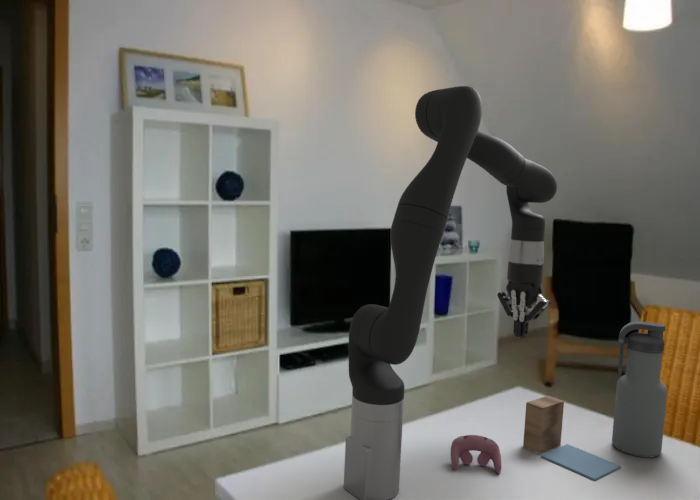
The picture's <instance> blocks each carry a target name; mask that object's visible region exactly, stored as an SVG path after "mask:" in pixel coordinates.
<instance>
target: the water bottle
mask: <svg viewBox="0 0 700 500" xmlns="http://www.w3.org/2000/svg"><path fill="white" fill-rule="evenodd" d="M634 330H636V331H637V330H644V331H645V330H646V331H647V333H646V332H632V333H630V332H631V331H634ZM664 332H666V324H662V323H659V322H658V323H657V322H649V321H648V322H647V321H639V320H638V321H631V322H629V323H627V324H625V325H624V326H623V327H622V328H621V330H620V331H619V335H618V340H617V341H618V343H619V344H620V347H619V348H620V349H619V357H618V367H617V376H620V377H619V378H618V379H617V382H616V389H615V402H614V414H613V424H612V434H611V435H612V436H611V442H612V444H613V446H614V447H616V448H615V449H618V450H620V451H621V452H623V453H625V454H628V455H631V456H634V457H639V458H654V457H657V456H659V455H660V454H661V453H662V449H663V437H664V427H665V417H666V406H667V399H668V398H667V397H668V389H667V386H666V385H665V383H664V382H662V380H661V370H662V369H661V368H662V359H663V357H662V356H663V355H664V351H665V342H666V341H665V339H664ZM628 333H630V334H628ZM627 334H628V336H627ZM626 336H627V337H626ZM626 344H627V347H626V349H627V358H626V359H627V360H626V368H625V369H626V371H625V374H624V375H622V371H623V361H624V348H625V347H624V346H625V345H626Z"/></svg>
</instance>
